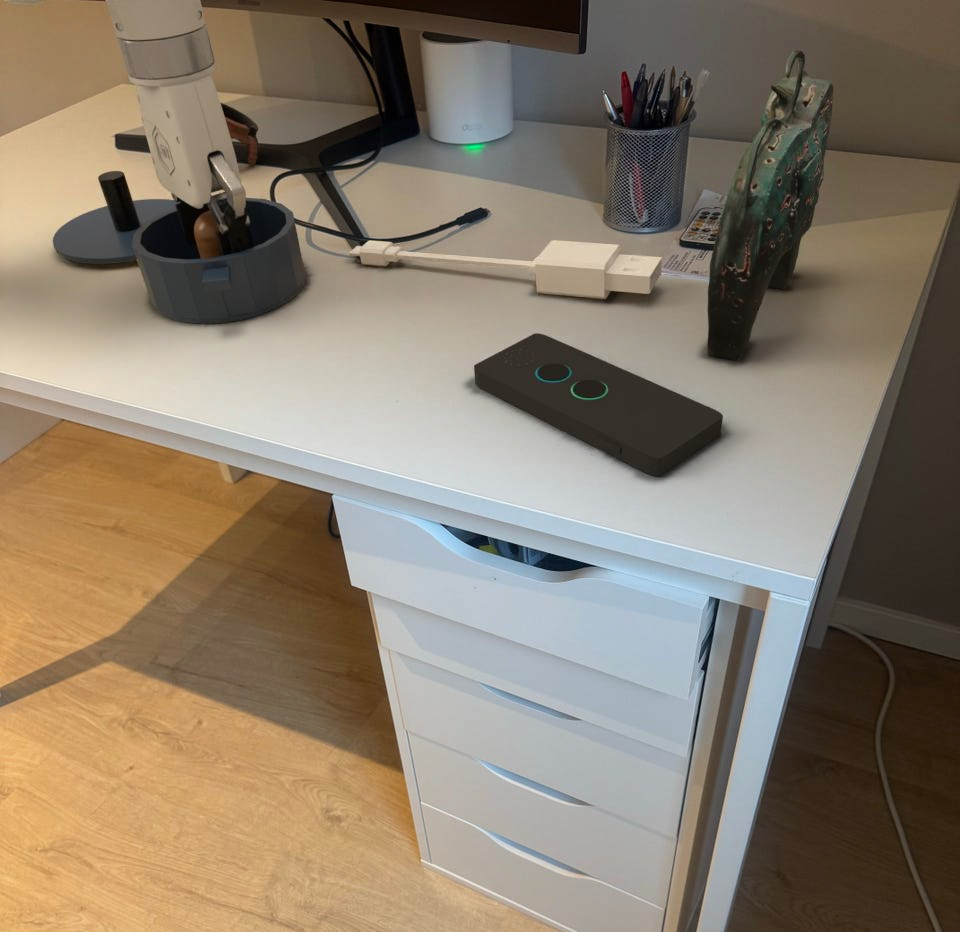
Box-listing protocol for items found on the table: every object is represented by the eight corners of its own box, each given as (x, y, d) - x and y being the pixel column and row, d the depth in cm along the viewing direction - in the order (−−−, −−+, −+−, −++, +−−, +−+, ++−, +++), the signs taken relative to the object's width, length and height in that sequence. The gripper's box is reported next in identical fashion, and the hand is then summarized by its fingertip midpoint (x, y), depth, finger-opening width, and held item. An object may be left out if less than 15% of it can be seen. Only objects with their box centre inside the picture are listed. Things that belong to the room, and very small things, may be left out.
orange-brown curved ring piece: (197, 156, 122) (214, 93, 118) (258, 192, 123) (278, 131, 119) (151, 162, 112) (167, 93, 108) (218, 202, 113) (238, 135, 109)
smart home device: (538, 329, 79) (728, 412, 68) (538, 347, 80) (725, 432, 69) (468, 365, 75) (657, 459, 64) (470, 384, 76) (655, 479, 65)
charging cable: (367, 257, 97) (361, 225, 95) (661, 281, 86) (663, 246, 84) (344, 277, 94) (338, 244, 92) (647, 304, 83) (648, 269, 81)
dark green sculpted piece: (750, 262, 89) (788, 22, 75) (817, 272, 87) (869, 27, 72) (684, 356, 77) (715, 93, 63) (759, 371, 75) (809, 101, 61)
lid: (47, 278, 96) (20, 214, 92) (65, 220, 108) (42, 160, 103) (204, 256, 98) (185, 192, 93) (205, 201, 109) (189, 141, 105)
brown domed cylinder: (208, 294, 90) (188, 222, 85) (208, 277, 93) (189, 207, 88) (248, 288, 91) (230, 217, 86) (247, 272, 93) (230, 201, 88)
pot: (146, 347, 84) (124, 285, 80) (157, 256, 99) (139, 200, 94) (312, 322, 86) (300, 260, 82) (299, 236, 100) (287, 180, 96)
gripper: (91, 47, 81) (153, 240, 94) (166, 84, 71) (225, 295, 83) (169, 30, 84) (219, 220, 96) (252, 62, 74) (296, 270, 86)
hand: (222, 254), depth 90 cm, fingers open, 9 cm apart
